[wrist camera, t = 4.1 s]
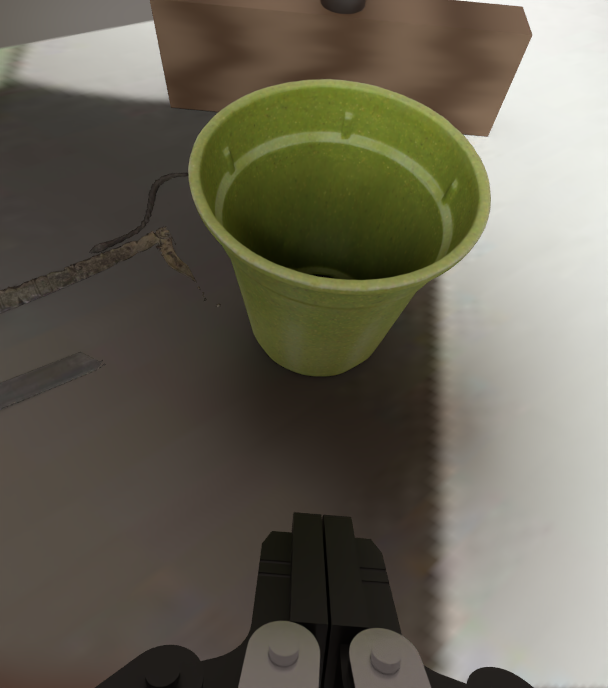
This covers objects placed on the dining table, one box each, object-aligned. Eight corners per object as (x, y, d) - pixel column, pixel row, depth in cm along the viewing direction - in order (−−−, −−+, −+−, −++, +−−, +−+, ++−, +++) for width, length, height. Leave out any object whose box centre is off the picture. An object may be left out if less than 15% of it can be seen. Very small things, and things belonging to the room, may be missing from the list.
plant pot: (419, 258, 24) (483, 97, 17) (416, 430, 20) (504, 310, 12) (240, 233, 25) (226, 63, 17) (193, 396, 20) (146, 258, 12)
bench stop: (170, 107, 30) (135, -75, 22) (180, 80, 31) (149, -100, 24) (487, 136, 30) (562, -34, 22) (481, 107, 32) (549, -61, 24)
